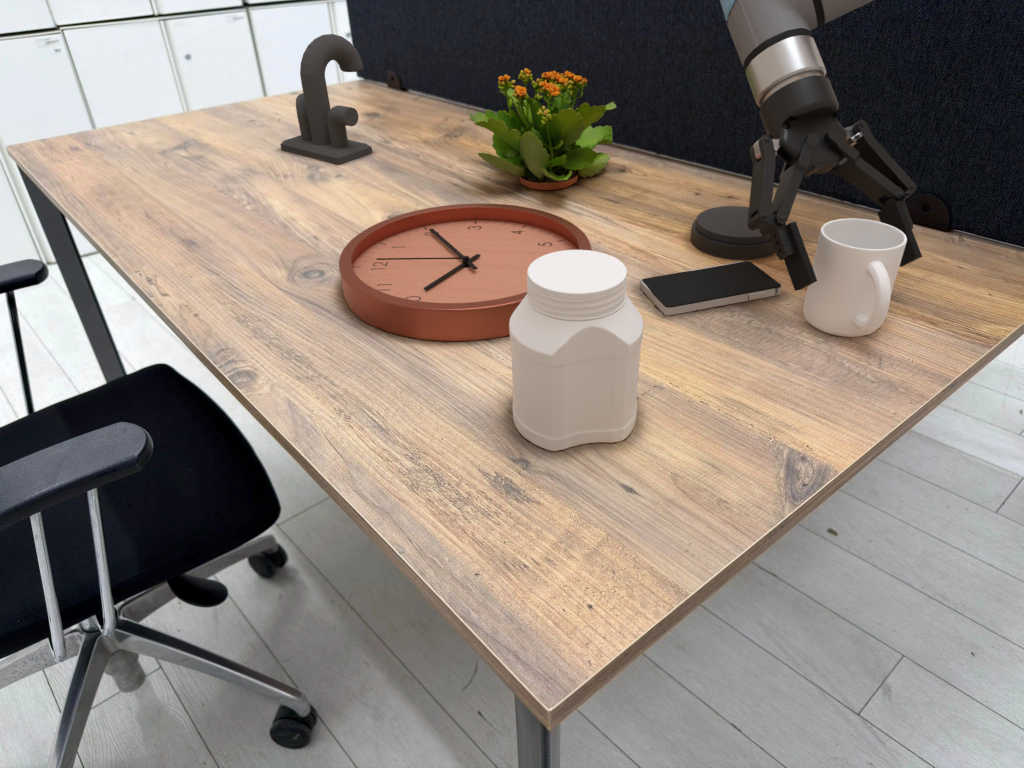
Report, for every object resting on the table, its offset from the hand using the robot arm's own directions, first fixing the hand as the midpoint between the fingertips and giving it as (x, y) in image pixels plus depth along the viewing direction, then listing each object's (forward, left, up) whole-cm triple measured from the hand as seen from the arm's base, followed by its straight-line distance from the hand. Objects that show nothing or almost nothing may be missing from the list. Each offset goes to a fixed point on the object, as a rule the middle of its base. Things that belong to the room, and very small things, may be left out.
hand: (859, 274), depth 75 cm
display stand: (+9, -23, -6) cm, 25 cm away
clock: (+44, -10, -7) cm, 45 cm away
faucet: (+79, -66, -7) cm, 103 cm away
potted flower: (+37, -46, -7) cm, 59 cm away
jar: (+29, +18, -7) cm, 35 cm away
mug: (0, 0, -7) cm, 7 cm away
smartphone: (+14, -8, -7) cm, 17 cm away
